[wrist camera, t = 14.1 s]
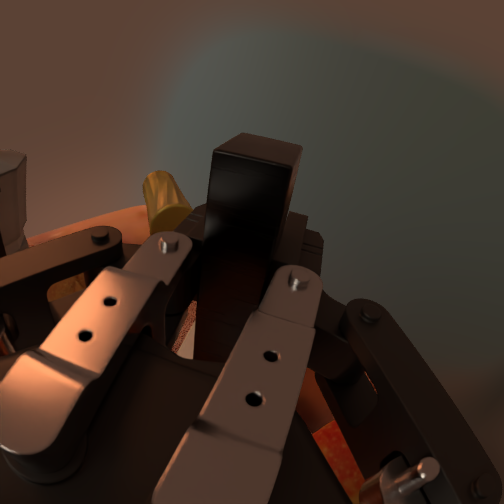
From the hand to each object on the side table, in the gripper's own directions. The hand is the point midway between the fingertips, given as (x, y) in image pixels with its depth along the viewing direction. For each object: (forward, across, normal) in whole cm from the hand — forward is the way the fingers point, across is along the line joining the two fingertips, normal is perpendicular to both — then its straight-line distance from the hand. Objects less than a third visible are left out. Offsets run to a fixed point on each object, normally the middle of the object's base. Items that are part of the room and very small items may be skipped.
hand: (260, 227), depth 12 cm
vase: (+20, +12, +14) cm, 27 cm away
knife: (-3, 0, +14) cm, 14 cm away
